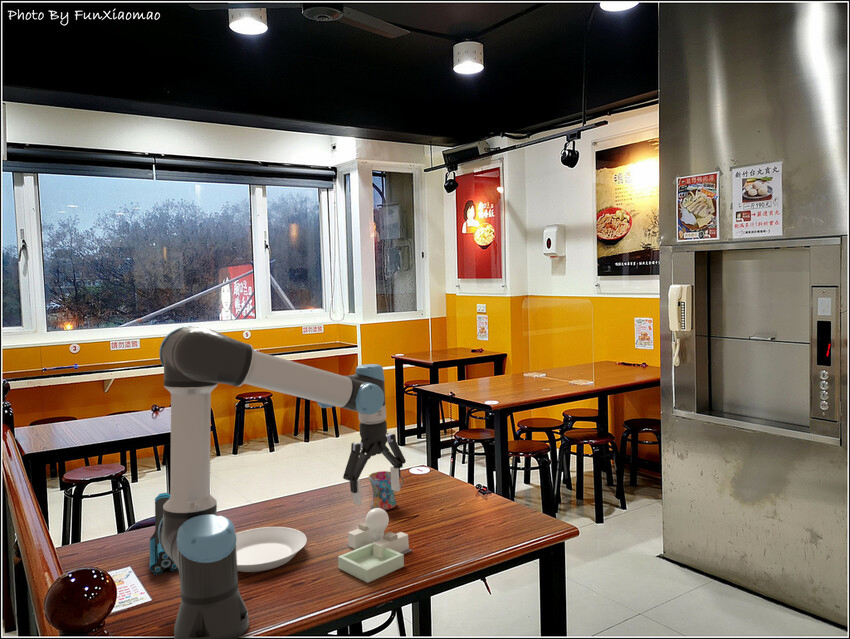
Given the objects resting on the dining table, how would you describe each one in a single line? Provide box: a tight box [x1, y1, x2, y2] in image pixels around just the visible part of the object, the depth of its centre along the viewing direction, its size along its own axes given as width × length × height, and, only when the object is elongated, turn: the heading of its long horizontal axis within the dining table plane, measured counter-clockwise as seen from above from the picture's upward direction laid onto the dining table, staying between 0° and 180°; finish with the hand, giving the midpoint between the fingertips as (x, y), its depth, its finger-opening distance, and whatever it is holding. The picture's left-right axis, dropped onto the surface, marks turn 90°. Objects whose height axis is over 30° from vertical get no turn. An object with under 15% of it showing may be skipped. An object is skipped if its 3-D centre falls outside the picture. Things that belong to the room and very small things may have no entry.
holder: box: [345, 521, 413, 559], centre depth 174 cm, size 10×17×6 cm, turn 44°
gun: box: [149, 492, 179, 575], centre depth 175 cm, size 8×26×15 cm, turn 22°
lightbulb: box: [365, 508, 390, 542], centre depth 174 cm, size 6×6×11 cm
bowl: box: [235, 526, 308, 573], centre depth 172 cm, size 25×25×4 cm
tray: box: [337, 542, 405, 584], centre depth 162 cm, size 12×12×3 cm
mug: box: [367, 470, 405, 511], centre depth 207 cm, size 12×9×11 cm
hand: (377, 496), depth 174 cm, fingers open, 13 cm apart
